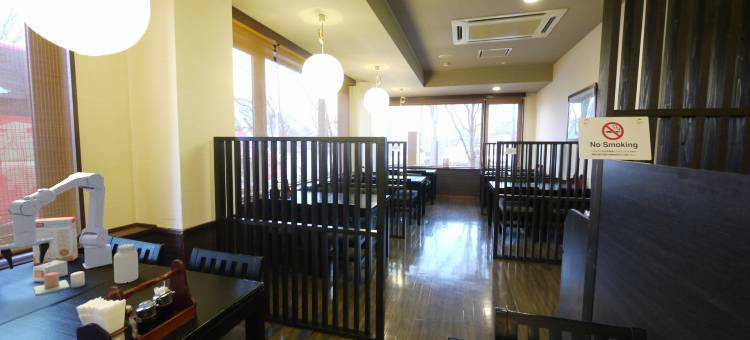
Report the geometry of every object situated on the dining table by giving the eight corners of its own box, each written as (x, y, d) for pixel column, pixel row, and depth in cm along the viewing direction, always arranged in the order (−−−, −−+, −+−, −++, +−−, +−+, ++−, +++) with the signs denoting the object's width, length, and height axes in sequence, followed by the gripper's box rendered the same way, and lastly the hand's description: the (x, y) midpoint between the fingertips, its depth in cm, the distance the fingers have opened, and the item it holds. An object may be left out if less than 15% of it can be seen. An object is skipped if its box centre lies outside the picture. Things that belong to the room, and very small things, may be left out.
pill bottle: (142, 277, 133) (142, 244, 132) (122, 285, 126) (121, 249, 124) (130, 274, 136) (129, 241, 135) (109, 282, 128) (108, 247, 127)
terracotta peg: (59, 283, 124) (59, 271, 124) (58, 287, 121) (58, 274, 121) (45, 286, 122) (44, 273, 121) (43, 289, 119) (43, 277, 118)
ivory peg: (83, 282, 127) (83, 270, 127) (85, 285, 125) (85, 273, 125) (70, 285, 124) (69, 273, 124) (71, 288, 122) (71, 276, 121)
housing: (57, 273, 135) (56, 259, 135) (68, 274, 134) (68, 260, 134) (32, 281, 126) (31, 267, 126) (44, 283, 126) (43, 268, 125)
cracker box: (78, 257, 154) (76, 216, 152) (72, 261, 149) (70, 218, 147) (40, 260, 148) (38, 218, 146) (32, 265, 143) (30, 221, 141)
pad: (65, 281, 128) (65, 279, 128) (69, 287, 122) (69, 286, 122) (33, 288, 121) (33, 286, 121) (36, 295, 115) (36, 294, 115)
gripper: (50, 225, 126) (51, 257, 127) (-7, 233, 114) (-4, 268, 115) (53, 228, 122) (55, 261, 123) (-5, 236, 110) (-3, 273, 111)
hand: (26, 265), depth 119 cm, fingers open, 7 cm apart
